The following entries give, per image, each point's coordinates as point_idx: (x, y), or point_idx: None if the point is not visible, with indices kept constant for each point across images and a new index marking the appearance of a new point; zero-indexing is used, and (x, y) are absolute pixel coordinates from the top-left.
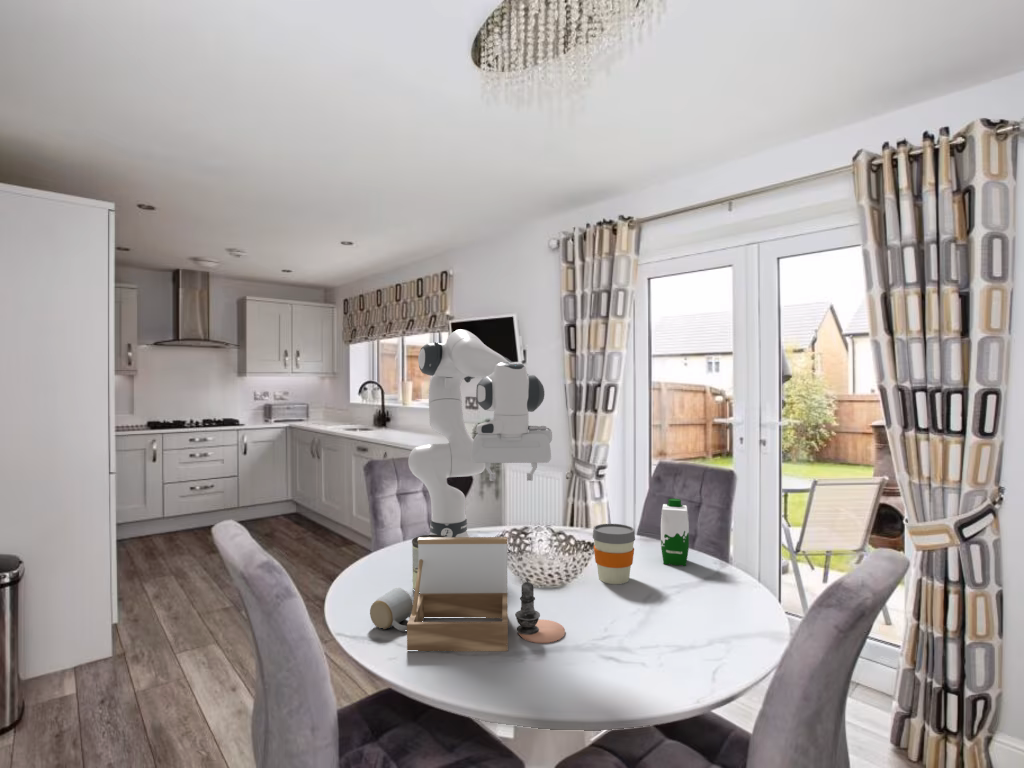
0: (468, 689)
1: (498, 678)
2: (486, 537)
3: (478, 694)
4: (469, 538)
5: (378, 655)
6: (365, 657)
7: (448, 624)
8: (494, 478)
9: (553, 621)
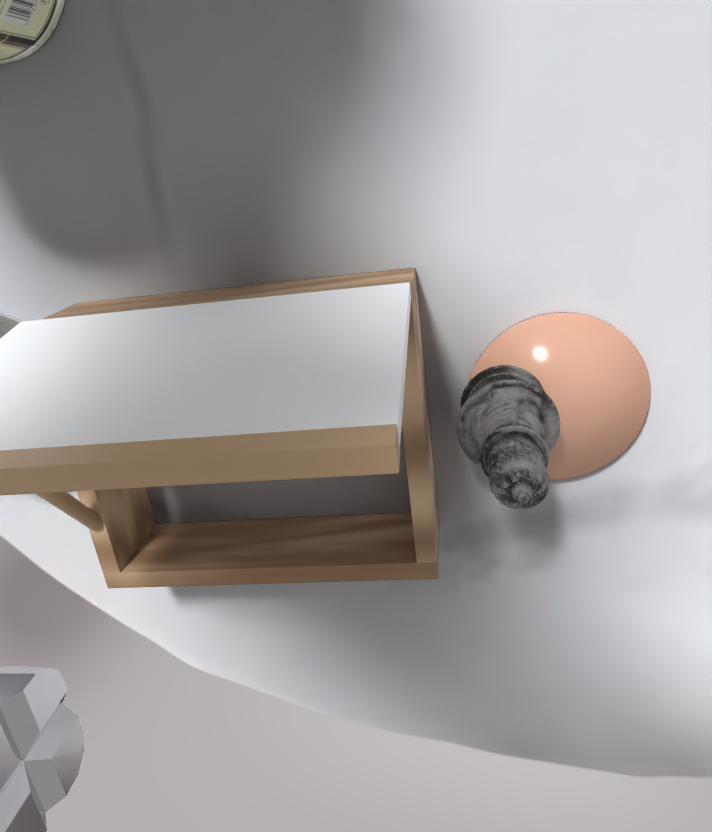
0: (358, 688)
1: (425, 649)
2: (244, 458)
3: (385, 704)
4: (135, 475)
5: (78, 556)
6: (51, 566)
7: (237, 583)
8: (52, 795)
9: (612, 329)
